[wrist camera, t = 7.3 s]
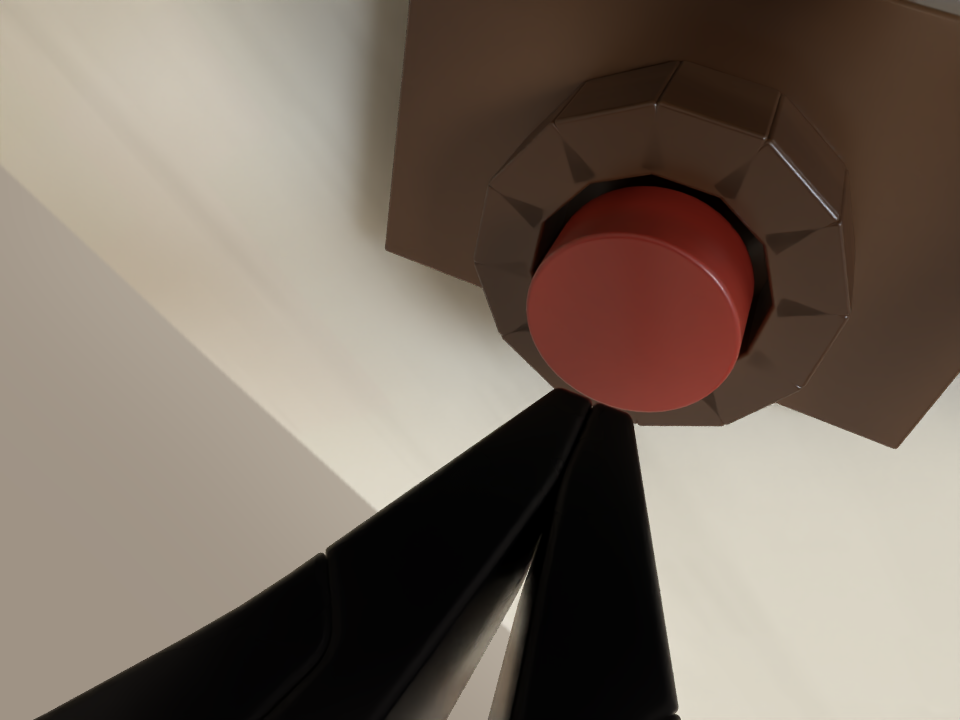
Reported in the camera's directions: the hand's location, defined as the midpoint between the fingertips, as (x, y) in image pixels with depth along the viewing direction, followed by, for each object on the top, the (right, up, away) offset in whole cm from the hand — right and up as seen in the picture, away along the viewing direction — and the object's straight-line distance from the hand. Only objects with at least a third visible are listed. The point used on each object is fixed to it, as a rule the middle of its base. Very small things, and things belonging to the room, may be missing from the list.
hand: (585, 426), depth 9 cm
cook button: (+2, +2, +6) cm, 6 cm away
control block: (+3, +5, +7) cm, 9 cm away
